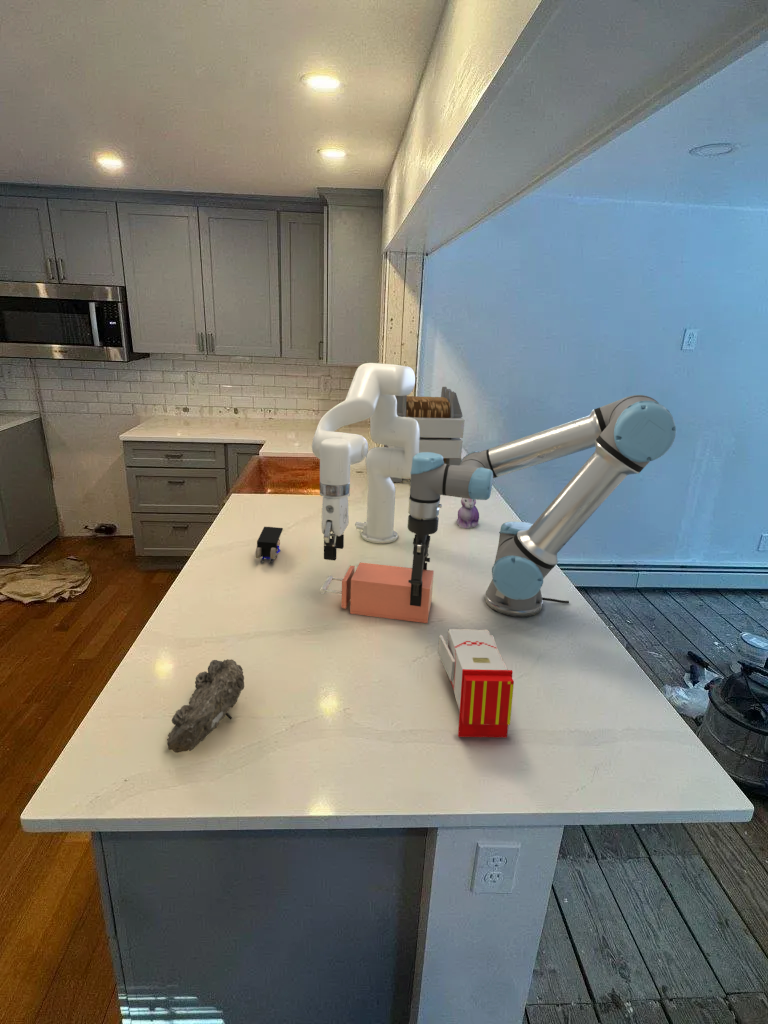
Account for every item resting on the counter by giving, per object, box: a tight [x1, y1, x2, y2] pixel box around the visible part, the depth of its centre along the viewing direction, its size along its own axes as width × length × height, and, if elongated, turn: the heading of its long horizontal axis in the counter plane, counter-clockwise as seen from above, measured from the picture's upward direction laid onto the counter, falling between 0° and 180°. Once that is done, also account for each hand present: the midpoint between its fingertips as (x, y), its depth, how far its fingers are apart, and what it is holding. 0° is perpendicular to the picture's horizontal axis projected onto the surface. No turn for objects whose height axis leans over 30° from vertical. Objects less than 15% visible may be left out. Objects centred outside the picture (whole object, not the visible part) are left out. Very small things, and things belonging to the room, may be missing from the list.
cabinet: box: [349, 561, 435, 624], centre depth 149 cm, size 20×11×10 cm, turn 80°
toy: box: [437, 628, 515, 738], centre depth 117 cm, size 12×13×30 cm
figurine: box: [456, 498, 480, 529], centre depth 209 cm, size 9×10×15 cm
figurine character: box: [254, 526, 284, 564], centre depth 176 cm, size 7×8×15 cm
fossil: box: [166, 658, 245, 754], centre depth 106 cm, size 22×10×15 cm
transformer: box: [383, 386, 465, 483], centre depth 268 cm, size 34×33×41 cm
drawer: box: [319, 565, 356, 609], centre depth 149 cm, size 25×10×8 cm, turn 80°
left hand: (333, 553), depth 148 cm, fingers open, 6 cm apart
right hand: (418, 594), depth 148 cm, fingers closed on cabinet, 11 cm apart
